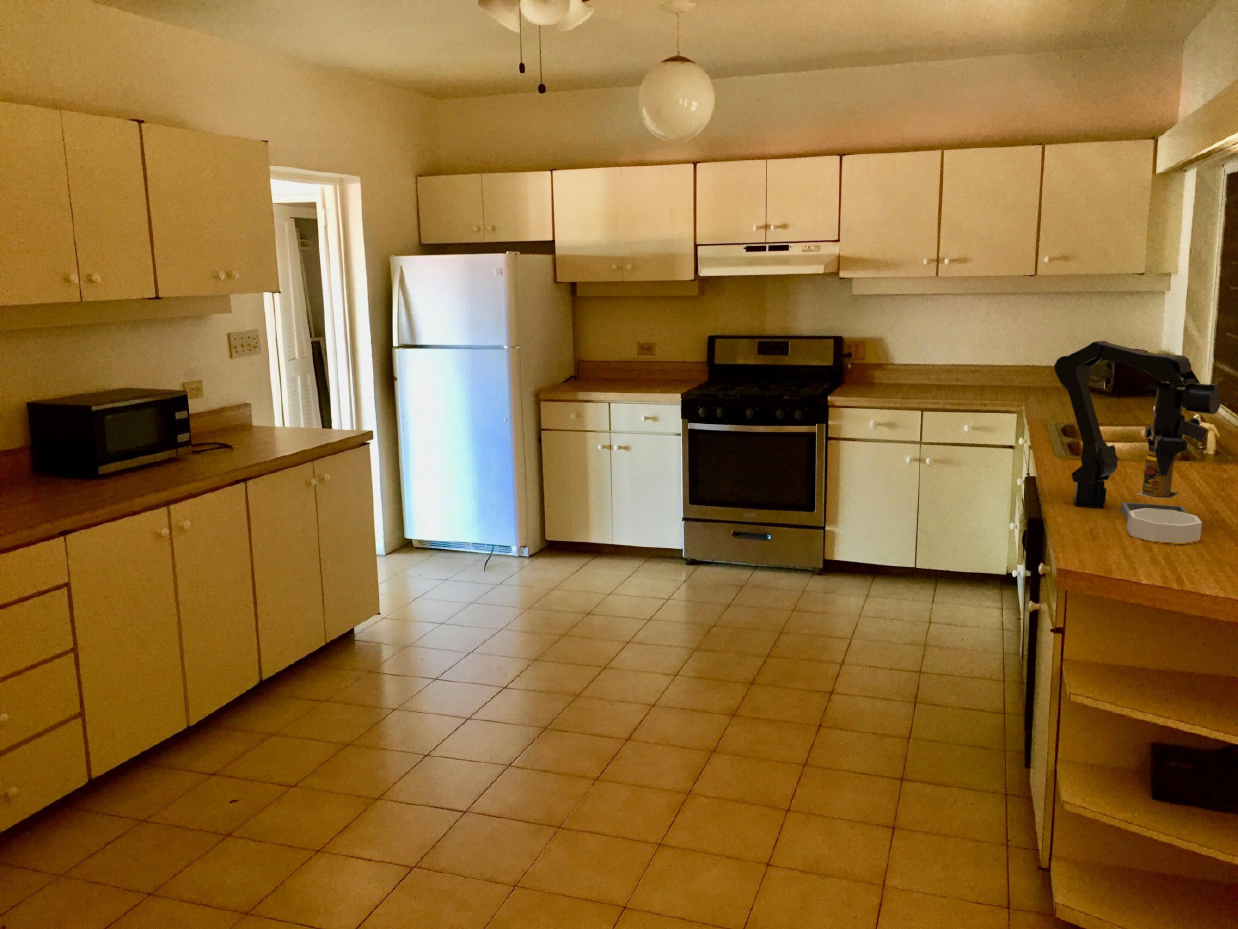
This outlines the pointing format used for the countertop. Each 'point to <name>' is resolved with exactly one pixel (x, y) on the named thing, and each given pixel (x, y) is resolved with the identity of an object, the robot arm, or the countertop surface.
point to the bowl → (1164, 525)
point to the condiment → (1156, 478)
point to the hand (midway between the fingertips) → (1161, 472)
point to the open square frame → (1134, 506)
